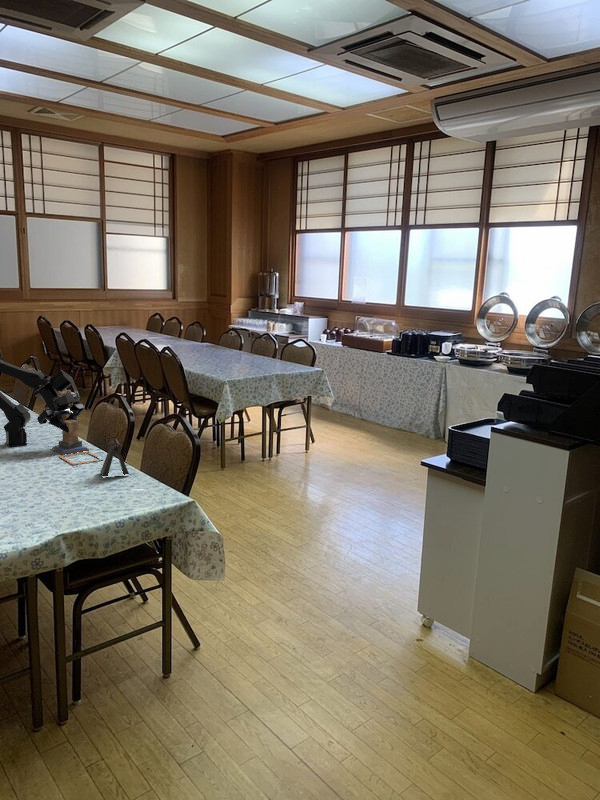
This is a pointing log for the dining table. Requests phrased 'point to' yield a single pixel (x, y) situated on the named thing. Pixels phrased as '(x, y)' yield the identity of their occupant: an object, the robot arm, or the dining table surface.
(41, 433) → the dining table surface
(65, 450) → the ink pad
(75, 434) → the stamp
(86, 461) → the marked frame
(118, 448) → the dark brown a-frame stand
